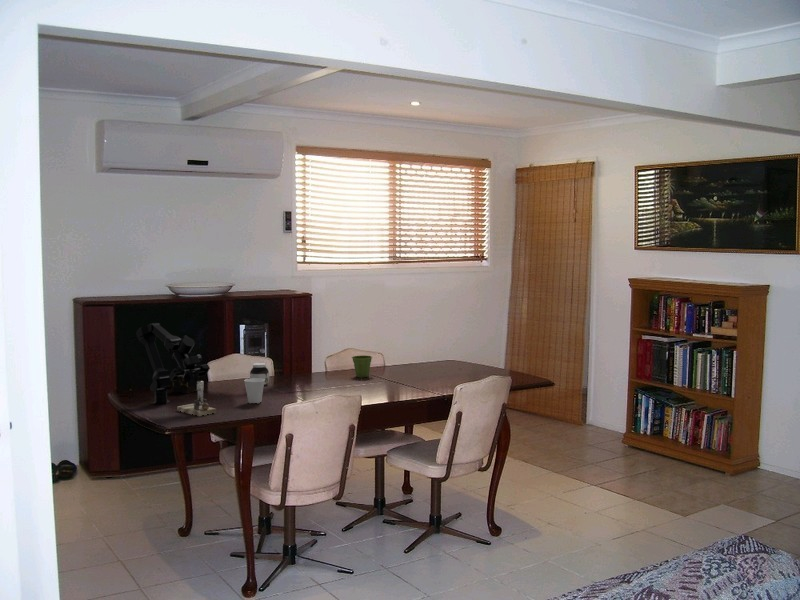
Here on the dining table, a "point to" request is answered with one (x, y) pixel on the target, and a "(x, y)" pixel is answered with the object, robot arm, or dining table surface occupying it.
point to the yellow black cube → (183, 386)
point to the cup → (254, 389)
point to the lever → (200, 392)
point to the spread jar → (260, 372)
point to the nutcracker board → (197, 408)
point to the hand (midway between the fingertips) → (197, 386)
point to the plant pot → (362, 365)
